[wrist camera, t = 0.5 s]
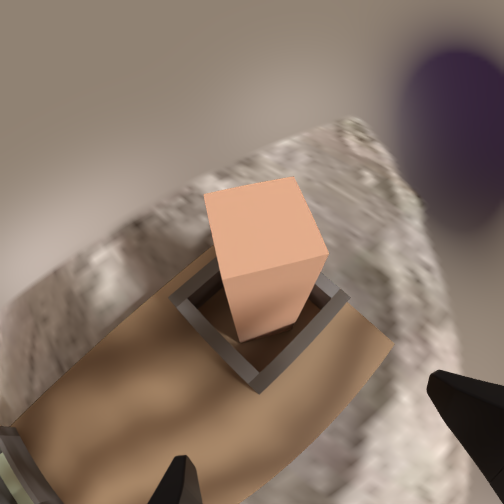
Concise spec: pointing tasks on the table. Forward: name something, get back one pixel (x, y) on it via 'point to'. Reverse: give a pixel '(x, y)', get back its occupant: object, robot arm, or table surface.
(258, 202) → the block
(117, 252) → the table surface
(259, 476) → the puzzle board
